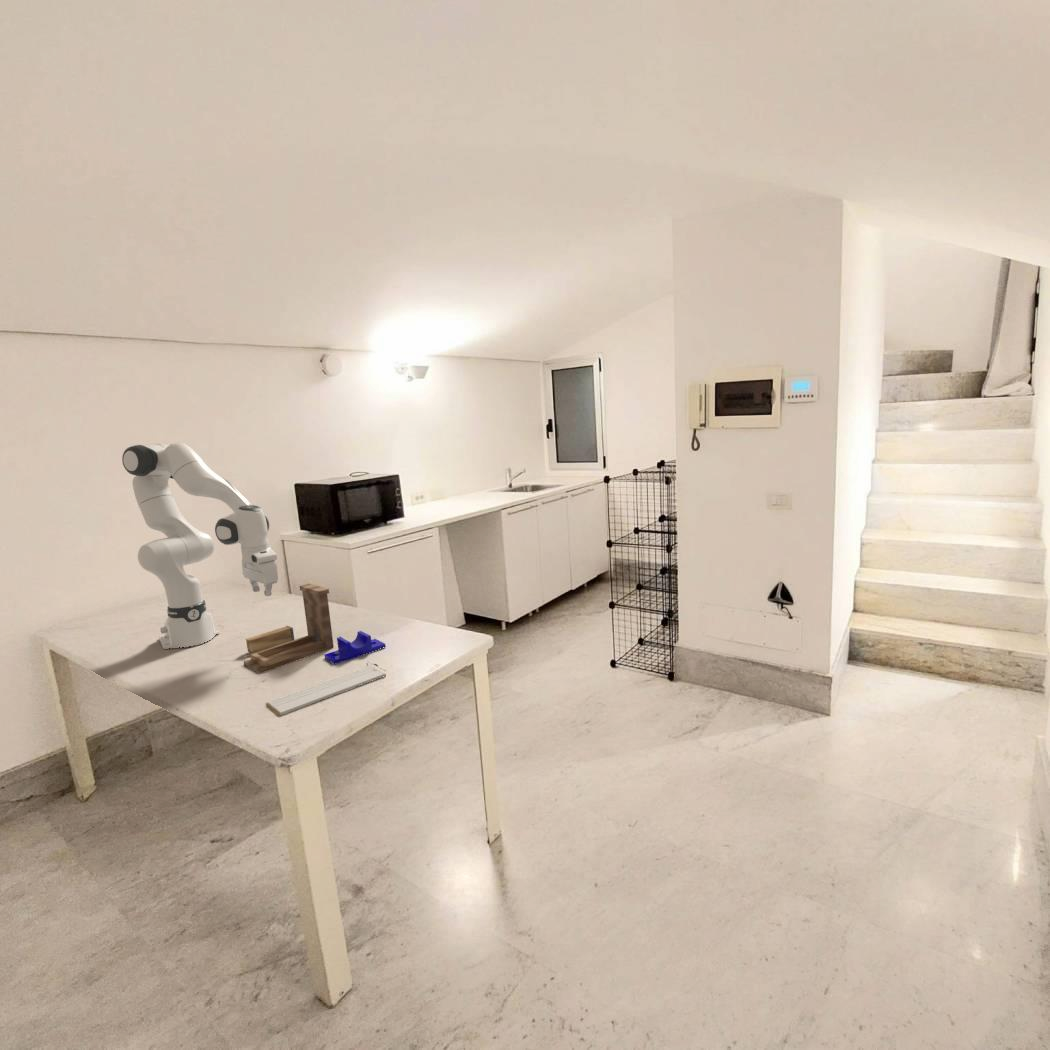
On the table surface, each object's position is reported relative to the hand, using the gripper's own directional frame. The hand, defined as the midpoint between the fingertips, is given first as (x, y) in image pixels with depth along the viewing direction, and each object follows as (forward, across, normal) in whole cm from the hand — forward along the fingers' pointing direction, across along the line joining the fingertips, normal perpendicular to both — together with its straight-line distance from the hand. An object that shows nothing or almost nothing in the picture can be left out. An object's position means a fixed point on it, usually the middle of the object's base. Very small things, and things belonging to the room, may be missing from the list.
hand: (262, 593), depth 203 cm
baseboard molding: (+20, +48, -4) cm, 52 cm away
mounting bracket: (+20, +30, +15) cm, 39 cm away
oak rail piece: (+19, -1, 0) cm, 19 cm away
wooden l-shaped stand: (+19, +13, +1) cm, 24 cm away
